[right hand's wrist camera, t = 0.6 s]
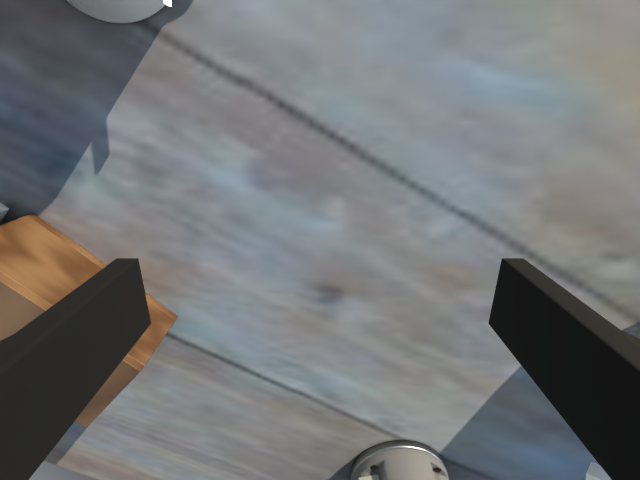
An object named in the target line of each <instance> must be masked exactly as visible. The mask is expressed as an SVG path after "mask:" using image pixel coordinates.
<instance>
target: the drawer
mask: <svg viewBox="0 0 640 480" xmlns="http://www.w3.org/2000/svg"><path fill="white" fill-rule="evenodd" d="M8 210H9V208H8V207H6V206H5V205H3V204H2V203H1V202H0V222H1V221H2V219H3V218H4V216H5V215H6V213H7V212H8Z"/></svg>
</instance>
